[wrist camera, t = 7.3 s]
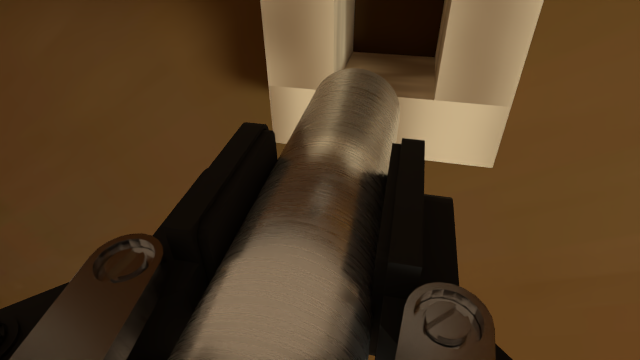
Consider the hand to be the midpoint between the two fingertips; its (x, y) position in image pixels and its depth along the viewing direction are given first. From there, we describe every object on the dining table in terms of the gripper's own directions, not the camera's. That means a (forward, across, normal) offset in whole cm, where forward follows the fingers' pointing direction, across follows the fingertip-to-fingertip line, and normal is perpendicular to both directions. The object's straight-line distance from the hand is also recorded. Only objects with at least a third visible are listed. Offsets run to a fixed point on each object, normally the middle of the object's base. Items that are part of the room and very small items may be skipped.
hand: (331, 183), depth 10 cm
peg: (+4, 0, 0) cm, 4 cm away
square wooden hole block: (+16, -1, 0) cm, 17 cm away
